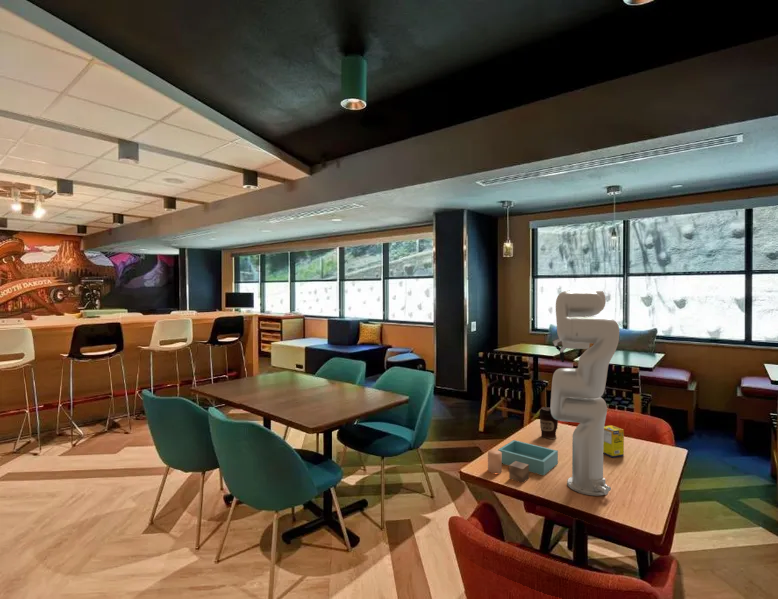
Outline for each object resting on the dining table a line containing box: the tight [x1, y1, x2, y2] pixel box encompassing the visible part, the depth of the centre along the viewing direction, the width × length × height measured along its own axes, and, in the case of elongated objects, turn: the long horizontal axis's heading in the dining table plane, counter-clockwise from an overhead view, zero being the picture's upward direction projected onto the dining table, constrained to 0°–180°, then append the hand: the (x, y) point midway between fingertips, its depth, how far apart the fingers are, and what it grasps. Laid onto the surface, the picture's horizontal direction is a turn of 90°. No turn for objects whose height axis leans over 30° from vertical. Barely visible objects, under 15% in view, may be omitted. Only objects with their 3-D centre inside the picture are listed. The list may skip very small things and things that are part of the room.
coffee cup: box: [538, 406, 559, 440], centre depth 192 cm, size 9×8×13 cm
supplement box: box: [603, 424, 625, 459], centre depth 172 cm, size 6×6×11 cm
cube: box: [508, 461, 530, 483], centre depth 150 cm, size 5×5×5 cm
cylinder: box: [487, 449, 503, 474], centre depth 157 cm, size 5×5×7 cm
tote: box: [497, 439, 559, 476], centre depth 164 cm, size 18×14×5 cm
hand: (575, 362), depth 174 cm, fingers open, 9 cm apart
